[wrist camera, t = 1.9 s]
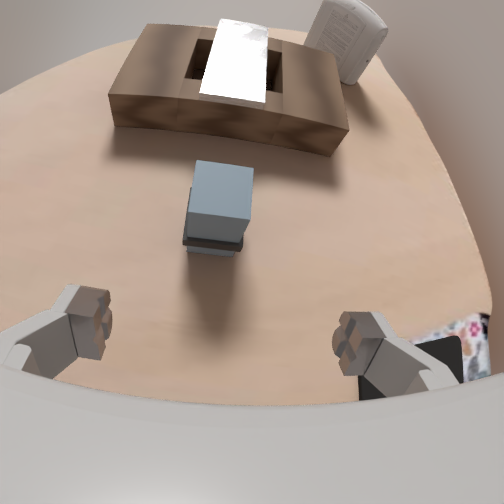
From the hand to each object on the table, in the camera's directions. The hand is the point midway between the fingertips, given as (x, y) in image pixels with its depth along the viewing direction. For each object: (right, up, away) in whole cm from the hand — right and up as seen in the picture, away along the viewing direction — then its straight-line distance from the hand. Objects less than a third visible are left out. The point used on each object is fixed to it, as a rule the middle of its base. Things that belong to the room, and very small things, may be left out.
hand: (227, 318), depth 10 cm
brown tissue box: (-2, +21, +23) cm, 31 cm away
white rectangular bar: (-1, +22, +22) cm, 31 cm away
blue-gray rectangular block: (-3, +4, +17) cm, 18 cm away
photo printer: (+12, +31, +30) cm, 45 cm away
